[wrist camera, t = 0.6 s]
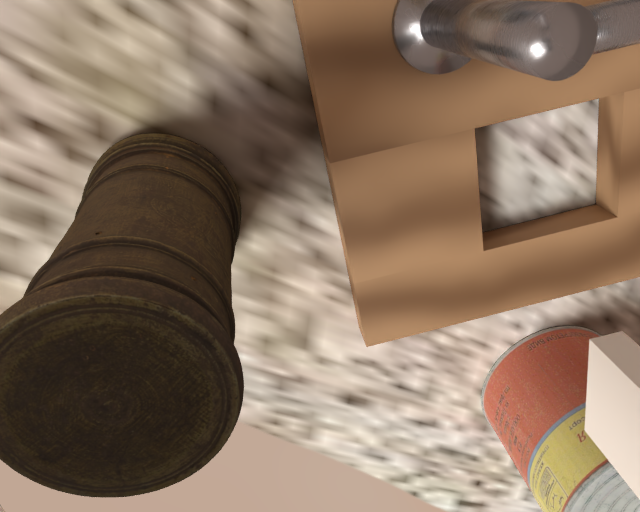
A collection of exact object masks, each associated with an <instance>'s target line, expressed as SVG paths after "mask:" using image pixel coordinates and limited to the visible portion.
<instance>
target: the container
mask: <svg viewBox="0 0 640 512" xmlns="http://www.w3.org/2000/svg"><path fill="white" fill-rule="evenodd" d="M240 221H241V205H240V199H239V194H238V191H237V188H236V186H235V184H234V182H233V180H232V178H231V176H230V174H229V173H228V171H227V170H226V168H225V167H224V166H223V165H222V163H221V162H220V161H219V160H218V159H217V158H216V157H215V156H213V155H212V154H211V153H210V152H208V151H207V150H206V149H204V148H202V147H201V146H199V145H198V144H196V143H193V142H191V141H189V140H186V139H184V138H180V137H177V136H172V135H167V134H156V133H150V134H140V135H135V136H132V137H129V138H126V139H124V140H121V141H120V142H118V143H116V144H114V145H113V146H112V147H110V148H109V149H108V150H107V151H106V152H105V153H104V154H103V155H102V156H101V157H100V159H99V160H98V161H97V163H96V164H95V166H94V167H93V169H92V171H91V173H90V176H89V178H88V181H87V183H86V186H85V189H84V192H83V196H82V201H81V203H80V205H79V207H78V209H77V212H76V216H75V220H74V222H73V223H72V225H71V226H70V228H69V229H68V231H67V233H66V234H65V236H64V237H63V239H62V240H61V241H60V243H59V244H58V246H57V247H56V249H55V250H54V252H53V253H52V255H51V257H50V258H49V260H48V261H47V262H46V263H45V264H44V265H43V266H42V267H41V268H40V269H39V270H38V272H37V273H36V274H35V276H34V277H33V279H32V280H31V282H30V283H29V285H28V288H27V290H26V292H25V294H24V297H23V298H22V299H21V300H19V301H18V302H16V303H15V304H14V305H12V306H11V307H10V308H8V309H7V310H6V311H4V312H3V313H2V314H1V315H0V459H1V460H2V461H3V462H4V463H6V464H7V465H8V466H10V467H11V468H12V469H13V470H15V471H16V472H18V473H20V474H21V475H23V476H25V477H27V478H29V479H30V480H32V481H34V482H37V483H39V484H41V485H43V486H46V487H49V488H51V489H55V490H58V491H62V492H65V493H70V494H75V495H81V496H89V497H127V496H134V495H140V494H144V493H149V492H153V491H157V490H160V489H163V488H165V487H168V486H170V485H173V484H175V483H177V482H180V481H182V480H184V479H185V478H187V477H189V476H191V475H192V474H193V473H195V472H197V471H198V470H200V469H201V468H202V467H203V466H205V465H206V464H207V463H208V462H209V461H210V460H211V459H212V458H213V457H214V456H215V455H216V454H217V453H218V452H219V451H220V450H221V449H222V447H223V446H224V444H225V443H226V442H227V440H228V438H229V437H230V435H231V433H232V431H233V429H234V427H235V425H236V422H237V420H238V417H239V414H240V411H241V406H242V401H243V391H244V380H243V372H242V366H241V363H240V359H239V356H238V353H237V350H236V348H235V346H234V339H235V319H234V313H233V309H232V290H231V264H232V261H233V257H234V251H235V245H236V242H237V239H238V235H239V227H240Z"/></svg>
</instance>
